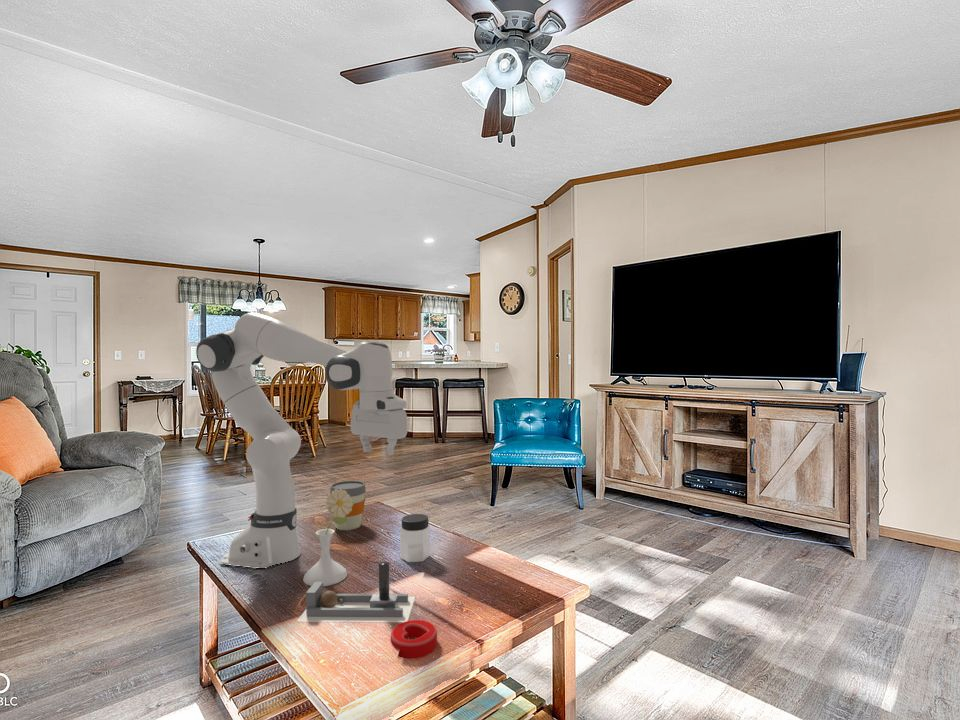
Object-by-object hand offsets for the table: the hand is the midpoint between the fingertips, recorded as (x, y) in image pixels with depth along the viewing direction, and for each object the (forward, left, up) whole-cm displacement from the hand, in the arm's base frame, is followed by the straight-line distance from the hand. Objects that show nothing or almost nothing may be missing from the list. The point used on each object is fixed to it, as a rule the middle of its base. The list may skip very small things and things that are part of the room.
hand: (378, 453), depth 131 cm
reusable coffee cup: (-22, +47, -36) cm, 63 cm away
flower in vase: (-14, +2, -36) cm, 38 cm away
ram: (+5, -15, -34) cm, 37 cm away
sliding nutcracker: (-1, -15, -35) cm, 39 cm away
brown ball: (-8, -15, -34) cm, 38 cm away
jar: (+7, +19, -36) cm, 41 cm away
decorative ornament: (+14, -27, -36) cm, 47 cm away
